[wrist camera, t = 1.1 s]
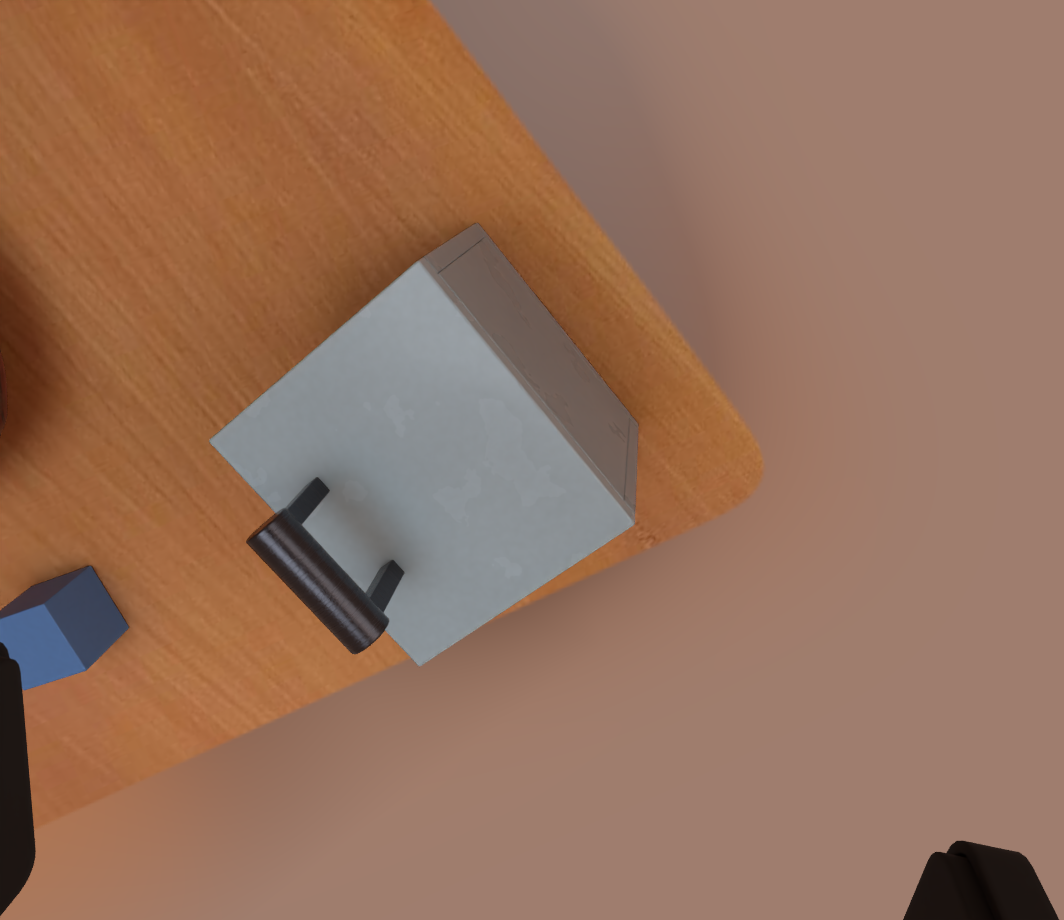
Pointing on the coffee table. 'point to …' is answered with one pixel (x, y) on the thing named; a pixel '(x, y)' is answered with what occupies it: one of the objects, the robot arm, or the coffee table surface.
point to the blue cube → (60, 627)
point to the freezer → (541, 354)
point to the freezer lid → (415, 476)
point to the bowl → (3, 395)
